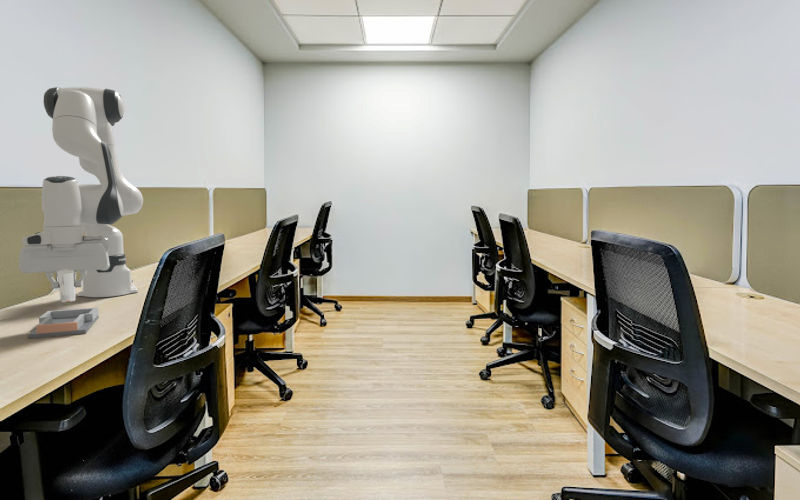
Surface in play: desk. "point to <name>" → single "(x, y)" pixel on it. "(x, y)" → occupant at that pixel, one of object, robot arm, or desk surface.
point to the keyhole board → (65, 322)
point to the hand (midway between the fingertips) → (67, 287)
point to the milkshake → (66, 285)
